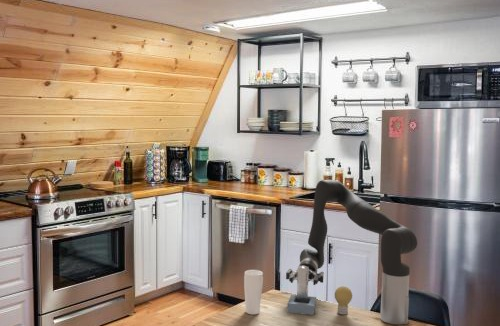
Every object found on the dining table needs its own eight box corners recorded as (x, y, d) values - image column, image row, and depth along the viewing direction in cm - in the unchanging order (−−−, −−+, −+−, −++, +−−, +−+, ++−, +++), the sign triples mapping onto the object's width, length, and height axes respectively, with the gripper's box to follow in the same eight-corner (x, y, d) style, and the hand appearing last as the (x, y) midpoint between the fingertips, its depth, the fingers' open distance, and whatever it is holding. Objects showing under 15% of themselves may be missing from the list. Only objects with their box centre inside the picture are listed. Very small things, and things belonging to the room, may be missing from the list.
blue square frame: (316, 306, 198) (316, 297, 198) (313, 315, 189) (313, 305, 188) (291, 303, 200) (291, 294, 200) (287, 312, 191) (287, 303, 191)
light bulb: (350, 310, 194) (351, 284, 193) (352, 317, 188) (353, 290, 187) (333, 309, 195) (334, 283, 194) (334, 316, 188) (335, 289, 187)
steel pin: (307, 307, 196) (309, 266, 195) (306, 311, 192) (308, 269, 191) (297, 306, 197) (298, 265, 196) (295, 310, 193) (297, 268, 192)
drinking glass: (241, 314, 187) (242, 274, 186) (245, 308, 194) (246, 268, 193) (259, 316, 186) (260, 275, 185) (263, 310, 193) (264, 270, 191)
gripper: (290, 258, 211) (284, 269, 195) (325, 261, 208) (322, 273, 192) (289, 276, 212) (283, 289, 196) (325, 280, 209) (321, 293, 193)
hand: (302, 281), depth 194 cm, fingers open, 8 cm apart
